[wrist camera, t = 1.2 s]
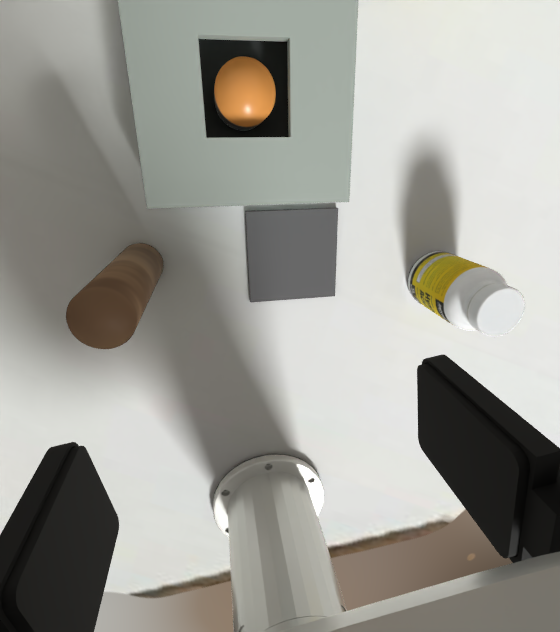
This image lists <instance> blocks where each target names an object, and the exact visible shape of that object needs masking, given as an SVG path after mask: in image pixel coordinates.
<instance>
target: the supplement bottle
mask: <svg viewBox="0 0 560 632" xmlns="http://www.w3.org/2000/svg"><path fill="white" fill-rule="evenodd" d="M408 288H409V291H410V293H411V295H412V296H413V298H414V299H415V300H416V301H418V302H419V303H421V304H422V305H424V306H425V307H426V308H428V309H430V310H431V311H433V312H434V313H436V314H437V315H438V316H440V317H441V318H443V319H445V320H446V321H448V322H449V323H451V324H452V325H454V326H456V327H458V328H460V329H463V330H469V331H473V330H478V331H480V332H481V333H483V334H485V335H487V336H492V337H496V336H501V335H504V334H506V333H508V332H509V331H511V330H512V329H513V328H514V327H515V326H516V325H517V324H518V323H519V321H520V320H521V318H522V316H523V314H524V310H525V300H524V297H523V295H522V294H521V293H520V292H519V291H518V290H517V289H515V288H512V287H510V286H508V285H507V283H506V281H505V279H504V278H503V277H502V276H501V275H500V274H499V273H498V272H496V271H494V270H492V269H490V268H487V267H485V266H482V265H479V264H477V263H474V262H471V261H469V260H466V259H463V258H461V257H458V256H455V255H453V254H450V253H447V252H442V251H436V252H431V253H428V254H426V255H424V256H423V257H421V258H420V259H419V260H418V261H417V262H416V263H415V264H414V266H413V267H412V269H411V271H410V274H409V278H408Z"/></svg>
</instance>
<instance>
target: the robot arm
mask: <svg viewBox="0 0 560 632" xmlns="http://www.w3.org/2000/svg"><path fill="white" fill-rule="evenodd" d="M417 385H418V439H419V444H420V446H421V448H422V450H423V452H424V453H425V454H426V456H427V457H428V459H429V460H430V461H431V463H432V464H433V465H434V467H435V468H436V469H437V471H438V472H439V473H440V475H441V476H442V477H443V479H444V480H445V481H446V483H447V484H448V485H449V487H450V488H451V490H452V491H453V492H454V494H455V495H456V496H457V498H458V499H459V500H460V502H461V503H462V504H463V506H464V507H465V508H466V510H467V511H468V512H469V514H470V515H471V516H472V518H473V519H474V521H475V522H476V523H477V525H478V526H479V527H480V529H481V530H482V531H483V533H484V534H485V535H486V537H487V538H488V539H489V541H490V542H491V544H492V545H493V546H494V547H495V549H496V550H497V552H498V553H499V554H500V555H501V556H502V557H503V558H510V560H511V561H512V562H513V563H512V564H509V565H504V566H501V567H497V568H493V569H490V570H486V571H483V572H479V573H475V574H472V575H468V576H465V577H461V578H458V579H455V580H451V581H448V582H444V583H441V584H438V585H434V586H431V587H427V588H424V589H420V590H417V591H414V592H410V593H407V594H403V595H400V596H397V597H393V598H390V599H387V600H383V601H380V602H376V603H373V604H370V605H366V606H363V607H359V608H356V609H353V610H349V611H347V609H346V606H345V602H344V599H343V596H342V593H341V589H340V586H339V583H338V580H337V577H336V573H335V570H334V567H333V564H332V561H331V557H330V554H329V551H328V548H327V545H326V541H325V538H324V535H323V532H322V528H321V525H320V522H319V519H318V514H319V512H320V510H321V508H322V505H323V499H324V491H323V486H322V483H321V480H320V478H319V476H318V474H317V472H316V471H315V470H314V469H313V468H312V467H311V466H310V465H309V464H307V463H306V462H305V461H303V460H300V459H298V458H296V457H292V456H287V455H265V456H261V457H257V458H253V459H251V460H248V461H246V462H244V463H242V464H240V465H239V466H237V467H235V468H234V469H233V470H232V471H230V472H229V473H228V474H227V475H226V476H225V477H224V478H223V480H222V481H221V482H220V484H219V486H218V488H217V490H216V492H215V496H214V499H213V512H214V519H215V521H216V524H217V526H218V527H219V528H220V530H221V531H222V532H223V533H224V534H225V535H226V536H228V537H229V549H230V568H231V586H232V605H233V625H234V632H560V448H559V447H557V446H556V445H555V444H554V443H552V442H551V441H550V440H549V439H548V438H546V437H545V436H544V435H543V434H541V433H540V432H539V431H538V430H537V429H535V428H534V427H533V426H532V425H530V424H529V423H528V422H527V421H526V420H524V419H523V418H522V417H521V416H519V415H518V414H517V413H516V412H514V411H513V410H512V409H511V408H510V407H508V406H507V405H506V404H505V403H503V402H502V401H501V400H500V399H499V398H497V397H496V396H495V395H494V394H492V393H491V392H490V391H489V390H488V389H486V388H485V387H484V386H483V385H481V384H480V383H479V382H478V381H477V380H475V379H474V378H473V377H472V376H470V375H469V374H468V373H467V372H466V371H464V370H463V369H462V368H461V367H459V366H458V365H457V364H456V363H454V362H453V361H452V360H451V359H450V358H448V357H447V356H445V355H439V356H435V357H430V358H426V359H424V360H423V362H422V365H419V366H418V368H417ZM118 530H119V520H118V516H117V514H116V512H115V510H114V507H113V505H112V503H111V501H110V499H109V497H108V495H107V492H106V490H105V488H104V486H103V484H102V482H101V480H100V477H99V475H98V473H97V471H96V469H95V467H94V465H93V462H92V460H91V458H90V456H89V454H88V452H87V450H86V448H85V447H84V446H78V444H77V443H75V442H71V443H67V444H63V445H59V446H54V447H51V448H49V449H48V451H47V452H46V454H45V456H44V458H43V459H42V461H41V463H40V465H39V467H38V468H37V470H36V472H35V474H34V476H33V477H32V479H31V481H30V483H29V485H28V486H27V488H26V490H25V492H24V494H23V495H22V497H21V499H20V501H19V502H18V504H17V506H16V508H15V510H14V511H13V513H12V515H11V517H10V519H9V520H8V522H7V524H6V526H5V528H4V529H3V531H2V533H1V535H0V632H94V629H95V625H96V621H97V617H98V612H99V608H100V604H101V600H102V596H103V592H104V588H105V584H106V580H107V576H108V571H109V567H110V563H111V559H112V555H113V551H114V547H115V543H116V539H117V535H118Z"/></svg>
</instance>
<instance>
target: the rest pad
mask: <svg viewBox="0 0 560 632" xmlns="http://www.w3.org/2000/svg"><path fill="white" fill-rule="evenodd" d="M245 212H246V232H247V252H248V272H249V291H250V302H261V301H274V300H288V299H301V298H315V297H328V296H335V279H336V250H337V221H338V208H322V209H295V210H268V211H245Z"/></svg>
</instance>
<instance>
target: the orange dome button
mask: <svg viewBox="0 0 560 632" xmlns="http://www.w3.org/2000/svg"><path fill="white" fill-rule="evenodd" d="M275 97H276V91H275V84H274V81H273V78H272V76H271V74H270V72H269V71H268V69H267V68H266V67H265V66H264V65H263V64H262V63H261V62H259V61H258V60H256V59H254V58H251V57H245V56H241V57H236V58H233V59H231V60H229V61H228V62H226V63H225V64H224V65H223V66H222V67H221V69H220V70H219V72H218V74H217V77H216V80H215V87H214V104H215V108H216V111H217V113H218V115H219V117H220V118H221V119H222V121H223V122H224V123H225V124H226V125H228V126H229V127H231V128H233V129H236V130H240V131H246V130H251V129H253V128H255V127H257V126H258V125H259V124H260V123H262V122H263V121H264V120H265V119H266V118H267V117H268V115H269V114H270V113H271V111H272V109H273V106H274V103H275Z"/></svg>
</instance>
